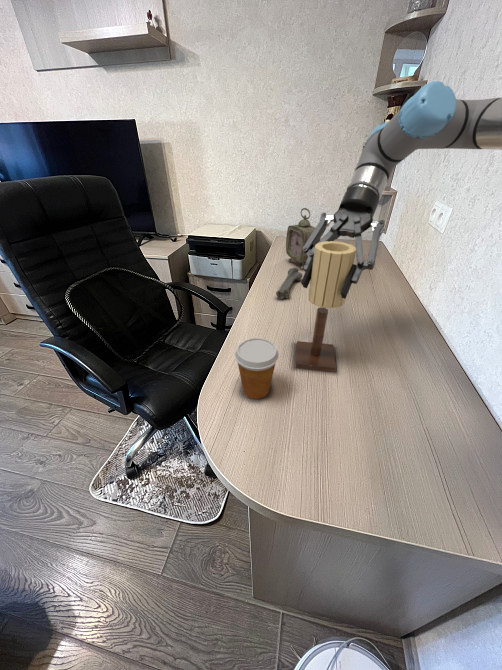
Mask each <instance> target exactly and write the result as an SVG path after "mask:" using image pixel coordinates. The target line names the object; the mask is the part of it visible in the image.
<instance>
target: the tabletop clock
mask: <svg viewBox="0 0 502 670" xmlns="http://www.w3.org/2000/svg"><path fill="white" fill-rule="evenodd" d="M303 211H307V213H308V217H307V215H306V214H305V215H303V213H302V212H303ZM300 216H301V218H302V219H300V220H299V221H298V224H293V225H288V227H287V230H286V238H285V251H286V255H287V256H288V257H289V259H288V263H292V261H296V262H299V263H301V262H302V263H301V266H300V270H303V271H304V265H305V262H306V260H307V258H308V257H307V256H305V254H304V252H303V250H302V249H303V247H304V245H305V244H306V242H307V240H308V239H309V237H310V236H311V234H312V233H313V231H314V229H315V228H316V226H315V227H314V226H312V225H311V222H310V220H309V219H310V218H311V211H310V209H309V208H307V207H303V208H301V210H300ZM320 240H321V238H320V239H319V241H320ZM319 241H318V242H319Z"/></svg>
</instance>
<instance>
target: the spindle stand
mask: <svg viewBox="0 0 502 670" xmlns="http://www.w3.org/2000/svg"><path fill="white" fill-rule="evenodd" d="M328 313H329V308H323V307H318V308H317V309H316V315H315V321H314V328H313V335H312V341H311V342H310V341H301V340H298V341H296V348H295V349H296V350H295V369H301V370H311V371H320V372H329V373H336V370H337V365H336V364H337V363H336V357H335V350H334V349H335V348H334V344H332V343H323V341H324V336H325V330H326V326H327V320H328Z"/></svg>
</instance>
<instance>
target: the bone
mask: <svg viewBox="0 0 502 670" xmlns="http://www.w3.org/2000/svg"><path fill="white" fill-rule="evenodd" d="M302 279H303V273H302V272H301V271H300V272H299V269H298V268H297V267H291V268H289V269H288V270H287V275H286V278H285V280H284V281H283V282H282V284H281V286H280V287H279V289H278V290H276V292H275V295H276V297H277V299H278V300H283V299H288V298H290V296H291V294H290V289H291V286H292V285H293V283H294V281H295V280H297V282H301V281H302Z"/></svg>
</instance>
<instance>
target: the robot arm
mask: <svg viewBox="0 0 502 670" xmlns="http://www.w3.org/2000/svg"><path fill="white" fill-rule="evenodd" d="M434 149H435V150H442V149H443V150H444V149H449V150H450V149H452V150H453V149H454V150H496V151H502V97H494V98H485V99H458V98H457V97H456V95H455V92H454V90H453V89H452V87H451V86H449V85H445V84H444V82H443V81H441V80H434V81H429V82H427V83H426V84H424V85H423V86H422V87H421V88H420V89H419V90H418V91H416V92H415V94H414V95H412V96H411V97H410V98H409V99H407V100H406V101H405V103H404V104H403V105H402V106H401V108H400V109H399V110H398V111H397V113H395V115H393V117H392V118H391V119H390V120H389V121H386V122H384V123H382V124H379V125H376V127H374V128H373V130H372V131H371V133H370V135H369V136H368V138H367V139H366V141H365V143H364V146H363V149H362V152H361V155H360V157H359V160H358V162H357V164H356V167H355V169H354V171H353V174H352V175H351V178H350V181H349V183H348V185H347V187H346V191H345V192H344V195H343V197H342V199H341V202H340V204H339V206H338V209H337V211H336V212H335V213H334V214H327V213H326V212H322V213H321V214H320V218H319V222H318V223H317V225H316V226H315V229H314V231H313V233H312V234H311V236H310V237H309V239H308V240H307V242H306V244H305V245H304V247H303V249H302V250H303V252H304V254H305V256H307V257H308V258H307V260H306V262H305V264H304V265H303V266H304V269H303V271H304V274H303V276H302V278H301V280H300V284H301V286H302V288H304V289H308V287H309V286H310V281H311V273H312V266H313V258H314V251H315V245H316V244H318V243H321V242H326V241H328V242H330V241H336V240H338V239H339V238H340V237H349V238H351V239H352V238H353V239H354V240H355V241H354V242H355V248H356V253H355V256H356V264H354V263H353V264H352V267H351V269H350V272H349V274H348V276H347V279H346V281H345V284H344V286H343V288H342V291H341V296H342V298H345V300H347V296H348V294H349V291H350V289H351V286H352V284H353V285H357V284H358V282H359V280H360V278H361V275H362V273H363V271H364V270H369V271H372V270H374V268H375V264H376V259H377V255H378V254H377V253H378V248H379V244H380V239H381V236H382V235H383V233H384V231H385V229H386V227H385V226H386V222H385V220H384V219H381V220H379V221H377V220H374V216H375V213H376V211H377V209H378V206H379V204H380V200H381V199H382V196H383V194H384V191H385V189H386V187H387V184H388V182H389V179H390V177H391V174H392V172H393V170H394V169H395V167H396V166H398V165H399V164H400V163H401V162H403V161H404V160H406V159H407V158H408V157H409V156H410V155H412V154H413V153H414V152H415V151H418V150H434ZM331 223H333V225H332V226H331V227H330V230H328V231H327V233H326V234H325V235H324V233H325V232H326V230H327V228H328V227H329V226H330V225H331ZM370 228H371V232H372V237H371V242H370V246H369V252H368V257H367V260H364V250H363V240H362V239H363V238H362V234H363V233H364V232H366V231H367V230H368V229H370ZM323 235H324V236H323ZM319 239H320V241H319ZM318 241H319V242H318Z"/></svg>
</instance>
